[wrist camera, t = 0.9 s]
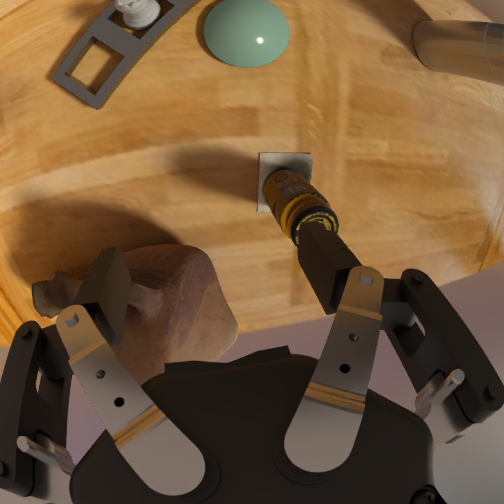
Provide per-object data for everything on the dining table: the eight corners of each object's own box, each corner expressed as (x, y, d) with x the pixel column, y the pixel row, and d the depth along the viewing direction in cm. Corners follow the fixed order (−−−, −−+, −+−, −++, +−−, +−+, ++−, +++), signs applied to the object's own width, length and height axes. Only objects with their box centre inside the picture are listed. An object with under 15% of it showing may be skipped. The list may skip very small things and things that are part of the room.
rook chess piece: (169, 5, 20) (162, -17, 14) (149, 35, 22) (136, 20, 16) (137, -4, 18) (122, -26, 12) (118, 25, 20) (97, 11, 14)
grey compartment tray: (193, -57, 15) (193, -64, 13) (239, -29, 19) (242, -34, 17) (59, 78, 22) (52, 79, 20) (101, 108, 26) (96, 109, 24)
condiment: (257, 211, 38) (281, 262, 29) (259, 152, 33) (289, 185, 24) (306, 209, 40) (343, 256, 30) (312, 153, 35) (359, 185, 25)
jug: (244, 230, 39) (63, 214, 37) (251, 304, 21) (-19, 262, 18) (231, 341, 47) (78, 318, 44) (231, 436, 28) (30, 388, 26)
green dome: (245, -16, 20) (247, -18, 19) (303, 35, 25) (306, 34, 24) (185, 33, 23) (185, 32, 22) (247, 83, 28) (248, 83, 27)
